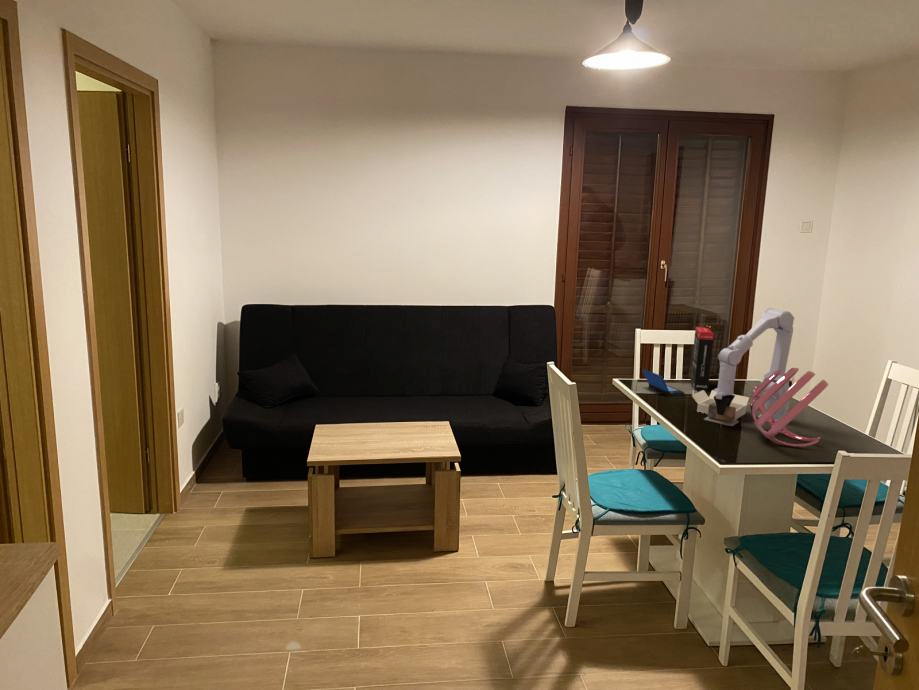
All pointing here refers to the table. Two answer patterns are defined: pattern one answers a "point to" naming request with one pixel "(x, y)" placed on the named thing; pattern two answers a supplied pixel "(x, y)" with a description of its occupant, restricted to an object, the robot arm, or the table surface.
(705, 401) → the carton
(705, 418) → the grey mat
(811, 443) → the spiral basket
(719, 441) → the table surface
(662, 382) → the handheld game console
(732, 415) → the capped block
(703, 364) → the graphics card box
